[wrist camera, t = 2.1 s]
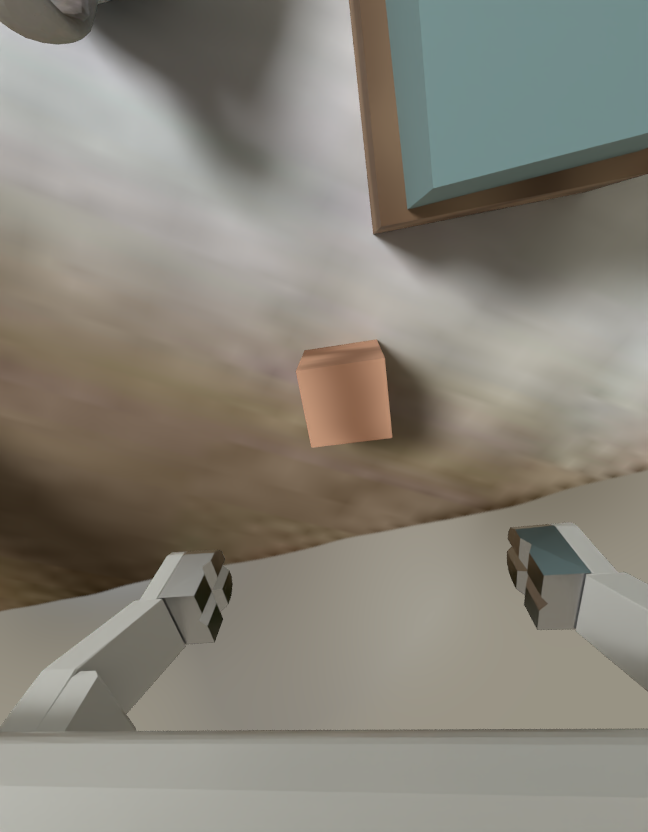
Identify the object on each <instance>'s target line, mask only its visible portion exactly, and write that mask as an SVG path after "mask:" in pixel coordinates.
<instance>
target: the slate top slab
mask: <svg viewBox="0 0 648 832" xmlns="http://www.w3.org/2000/svg"><path fill="white" fill-rule="evenodd" d="M385 2H386V11H387V20H388V30H389V39H390V49H391V58H392V68H393V77H394V87H395V96H396V106H397V115H398V125H399V134H400V144H401V153H402V163H403V172H404V182H405V191H406V201H407V210H408V209H412V208H416V207H420V206H424V205H428V204H431V203H435V202H439V201H443V200H447V199H451V198H455V197H459V196H463V195H467V194H471V193H475V192H479V191H483V190H487V189H491V188H495V187H499V186H503V185H507V184H510V183H514V182H518V181H522V180H526V179H530V178H534V177H538V176H542V175H546V174H550V173H554V172H558V171H562V170H566V169H570V168H574V167H578V166H582V165H586V164H589V163H593V162H597V161H601V160H605V159H609V158H613V157H617V156H621V155H625V154H629V153H633V152H637V151H640V150H643V149H646V148H648V0H385Z"/></svg>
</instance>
